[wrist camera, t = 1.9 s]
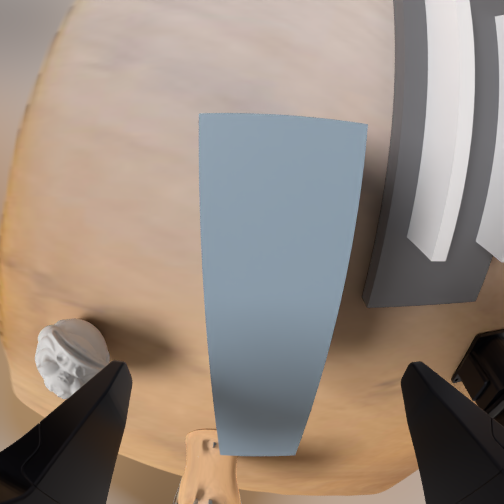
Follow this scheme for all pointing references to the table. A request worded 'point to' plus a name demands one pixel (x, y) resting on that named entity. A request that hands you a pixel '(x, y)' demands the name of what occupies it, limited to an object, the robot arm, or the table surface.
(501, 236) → the hinge frame
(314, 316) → the door
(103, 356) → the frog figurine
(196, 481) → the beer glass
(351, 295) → the table surface
